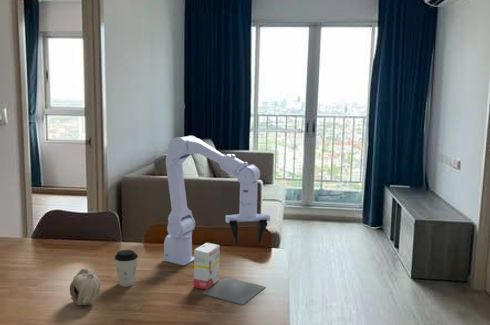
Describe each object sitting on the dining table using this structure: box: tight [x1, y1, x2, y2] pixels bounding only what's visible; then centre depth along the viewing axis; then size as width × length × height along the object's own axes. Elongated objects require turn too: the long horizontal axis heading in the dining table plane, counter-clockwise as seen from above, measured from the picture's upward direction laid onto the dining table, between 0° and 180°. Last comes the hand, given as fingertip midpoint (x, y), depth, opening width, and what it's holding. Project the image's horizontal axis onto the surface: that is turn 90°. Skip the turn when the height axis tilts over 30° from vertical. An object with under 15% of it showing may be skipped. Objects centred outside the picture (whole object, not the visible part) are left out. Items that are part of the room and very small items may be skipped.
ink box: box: [193, 242, 221, 291], centre depth 142 cm, size 9×5×12 cm, turn 157°
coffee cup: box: [114, 249, 139, 288], centre depth 141 cm, size 7×7×10 cm
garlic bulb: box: [69, 267, 101, 306], centre depth 127 cm, size 9×8×10 cm
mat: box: [201, 277, 266, 306], centre depth 138 cm, size 14×14×1 cm
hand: (247, 242), depth 151 cm, fingers open, 7 cm apart
